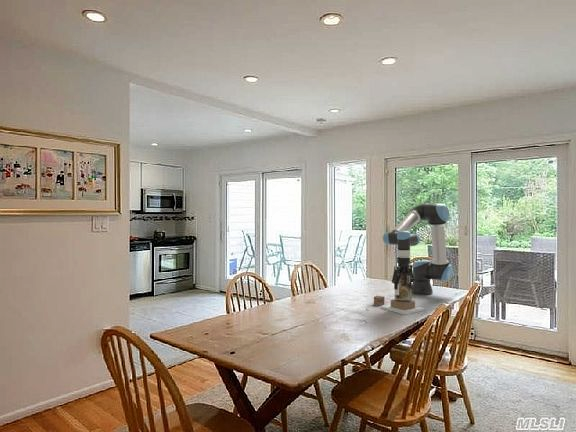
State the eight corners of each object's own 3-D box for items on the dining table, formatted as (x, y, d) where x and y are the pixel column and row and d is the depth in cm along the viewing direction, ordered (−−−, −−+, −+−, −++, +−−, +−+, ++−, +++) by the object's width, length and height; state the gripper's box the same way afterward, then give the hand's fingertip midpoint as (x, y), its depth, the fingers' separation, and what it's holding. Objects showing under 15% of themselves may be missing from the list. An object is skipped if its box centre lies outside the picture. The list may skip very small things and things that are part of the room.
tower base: (400, 304, 249) (400, 296, 249) (425, 310, 234) (425, 301, 234) (381, 308, 239) (381, 299, 238) (405, 314, 224) (405, 305, 224)
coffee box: (409, 298, 239) (409, 271, 239) (411, 300, 233) (412, 273, 232) (394, 297, 240) (394, 271, 240) (396, 300, 233) (396, 273, 233)
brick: (376, 303, 251) (377, 295, 251) (384, 304, 248) (384, 296, 248) (373, 304, 247) (373, 296, 247) (381, 306, 244) (381, 297, 244)
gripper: (410, 255, 245) (410, 290, 246) (385, 257, 232) (385, 294, 233) (420, 256, 239) (420, 292, 240) (395, 258, 226) (395, 297, 227)
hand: (403, 293), depth 236 cm, fingers closed on coffee box, 10 cm apart
